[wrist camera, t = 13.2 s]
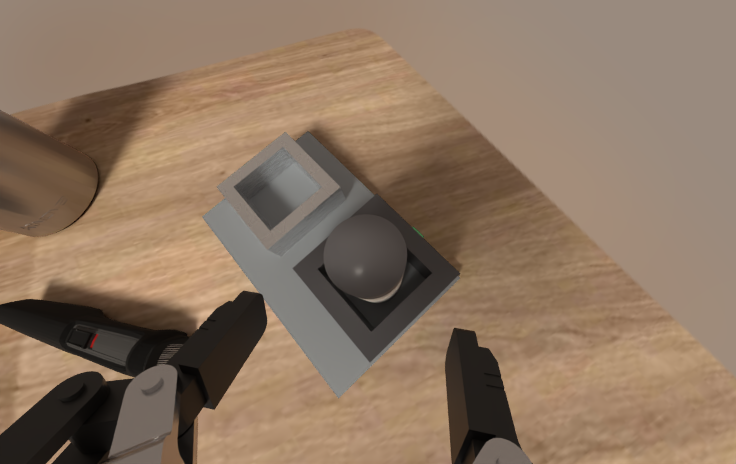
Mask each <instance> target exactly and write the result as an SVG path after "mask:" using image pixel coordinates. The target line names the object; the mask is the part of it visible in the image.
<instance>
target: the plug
mask: <svg viewBox="0 0 736 464" xmlns="http://www.w3.org/2000/svg"><path fill="white" fill-rule="evenodd" d="M406 262H407V248H406V243H405V240H404V238H403V236H402V234H401V233H400V231H399V230H398V229H397V228H396V226H395V225H393V224H392V223H391V222H390V221H388V220H386V219H384V218H382V217H379V216H376V215H370V214H363V215H356V216H353V217H350V218H348V219H346V220H344V221H343V222H341V223H340V224H339V225H337V226H336V227H335V228H334V229H333V231H332V232H331V233H330V235H329V237H328V239H327V241H326V244H325V248H324V265H325V269H326V272H327V274H328V276H329V278H330V279H331V281H332V282H333V283H334V284H335V285H336V286H337V287H338V288H339V289H341V290H342V291H344V292H345V293H347V294H350V295H353V296H355V297H358V298H360V299H363V300H366V301H368V302H371V303H384V302H387V301H389V300H390V299H392V298H393V297H394V296H395V295H396V294H397V292H398V290H399V288H400V285H401V282H402V278H403V274H404V270H405V267H406Z"/></svg>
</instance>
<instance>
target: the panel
mask: <svg viewBox="0 0 736 464" xmlns="http://www.w3.org/2000/svg"><path fill="white" fill-rule="evenodd" d="M295 142H296V143H297V144H298V145H299V146H300V147H301V148H302V149H303V150H304V151H305V152H306V153H307V154H308V155H309V156H310V157H311V158H312V159H313V160H314V161H315V162H316V163H317V164H318V165H319V166H320V167H321V168H322V169H323V170H324V171H325V172H326V173H327V174H328V175H329V176H330V177H331V178H332V179H333V180H334V181H335V182H336V183H337V184H338V185H339V186H340V187H341V190H342V192H343V194H344V197H345V199H346V201H345V202H343V203H342V204H341V205H340V206H339V207H338V208H336V209H335V210H334V211H333V212H332V213H331V214H330V215H328V216H327V217H326V218H325V219H324V220H323V221H322V222H320V223H319V224H318V225H317V226H316V227H315V228H314V229H312V230H311V231H310V232H309V233H308V234H307V235H306V236H304V237H303V238H302V239H301V240H300V241H299V242H298V243H296V244H295V245H294V246H293V247H292V248H291V249H289V250H288V251H287V252H286V253H285V254H284V255H283V256H281V257H280V256H278V255H276V254H274V253H272V252H270V251H269V250H267V249H266V248H265V246H264V245H263V244H262V243H261V241H260V240H259V239H258V238H257V237H256V235H255V234H254V233H253V232H252V230H251V229H250V228H249V227H248V225H247V224H246V223H245V222H244V220H243V219H242V218H241V217H240V215H239V214H238V213H237V212H236V211H235V209H234V208H233V207H232V206H231V204H230V203H229V202H228V201H227V199H226V198H225V199H223V200H222V201H221V202H220V203H218V204H217V205H216V206H215V207H214V208H212V209H211V210H210V211H209V212H207V213H206V214H205V215H204V216H202V217H203V219H204V220H205V221H206V223H207V224H208V225H209V227H210V228H211V229H212V231H213V232H214V233H215V235H216V236H217V237H218V239H219V240H220V241H221V243H222V244H223V245H224V247H225V248H226V249H227V251H228V252H229V253H230V255H231V256H232V257H233V259H234V260H235V261H236V263H237V264H238V265H239V267H240V268H241V269H242V271H243V272H244V273H245V275H246V276H247V277H248V279H249V280H250V281H251V283H252V284H253V285H254V287H255V288H256V289H257V291H258V292H259V293H260V294H262V295H263V298H264V300H265V301H266V303H267V304H268V305H269V306H270V308H271V309H272V310H273V312H274V313H275V314H276V316H277V317H278V318H279V320H280V321H281V322H282V324H283V325H284V326H285V328H286V329H287V330H288V332H289V333H290V334H291V336H292V337H293V338H294V340H295V341H296V342H297V344H298V345H299V346H300V348H301V349H302V350H303V352H304V353H305V354H306V356H307V357H308V358H309V360H310V361H311V362H312V364H313V365H314V366H315V368H316V369H317V370H318V372H319V373H320V374H321V376H322V377H323V378H324V380H325V381H326V382H327V384H328V385H329V386H330V388H331V389H332V390H333V392H334V393H335V394H336V396H337V397H338V398H339V397H340V396H341V395H342V394H344V393H345V392H346V391H347V390H348V389H349V388H350V387H351V386H352V385H353V384H354V383H355V382H356V381H357V380H358V379H359V378H360V377H361V376H362V375H363V374H364V373H365V372H366V371H367V370H368V369H369V368H370V367H371V366H372V365H373V364H374V363H375V362H376V361H377V360H378V359H379V358H380V357H381V356H382V355H383V354H384V353H385V352H386V351H387V350H388V349H389V348H390V347H391V346H392V345H393V344H394V343H395V342H396V341H397V340H398V339H399V338H400V337H401V336H402V335H403V334H404V333H405V332H406V331H407V330H408V329H409V328H410V327H411V326H412V325H413V324H414V323H415V322H416V321H417V320H418V319H419V318H420V317H421V316H422V315H423V314H424V313H425V312H426V311H427V310H428V309H429V308H430V307H431V306H432V305H433V304H434V303H435V302H436V301H437V300H438V299H439V298H440V297H441V296H442V295H443V294H444V293H445V292H446V291H447V290H448V289H449V288H450V287H451V286H452V285H454V284H455V283H456V282H457V281H458V280H459V279H460V277H459V276H457V277H456V278H455V279H454V280H453V281H452V282H451V283H450V284H449V285H448V286H447V287H446V288H445V289H444V290H443V291H442V292H441V293H440V294H439V295H438V296H437V297H436V298H435V299H434V300H433V301H432V302H431V303H430V304H429V305H428V306H427V307H426V308H425V309H424V310H423V311H422V312H421V313H420V314H419V315H418V316H417V317H416V318H415V319H414V320H413V321H412V322H411V323H410V324H409V325H408V326H407V327H406V328H405V329H404V330H403V331H402V332H401V333H400V334H399V335H398V336H397V337H396V338H395V339H394V340H393V341H392V342H391V343H390V344H389V345H388V346H387V347H386V348H384V349H383V350H382V351H381V352H380V353H379V354H378V355H377V356H376V357H375V358H374V359H373V360H372V361H371V362H369V361H368V360H367V359H366V357H365V356H364V355H363V354H362V352H361V351H360V350H359V349H358V348H357V346H356V345H355V344H354V343H353V342H352V340H351V339H350V338H349V337H348V335H347V334H346V333H345V332H344V331H343V329H342V328H341V327H340V326H339V324H338V323H337V322H336V321H335V320H334V318H333V317H332V316H331V315H330V314H329V312H328V311H327V310H326V309H325V307H324V306H323V305H322V304H321V303H320V301H319V300H318V299H317V298H316V297H315V295H314V294H313V293H312V292H311V290H310V289H309V288H308V287H307V286H306V284H305V283H304V282H303V281H302V279H301V278H300V277H299V276H298V275H297V273H296V272H295V271H294V270H293V269H292V268H293V267H294V266H296V265H297V264H298V263H299V262H300V261H301V260H302V259H303V258H305V257H306V256H307V255H308V254H309V253H310V252H311V251H312V250H314V249H315V248H316V247H317V246H318V245H319V244H320V243H321V242H323V241H324V240H325V239H326V238H327V237H328V236H329V235H330V233H331V232H332V231H333V229H334V228H335V227H336V226H337V225H339V224H340V223H341V222H343V221H344V220H346V219H348V218H350V217H351V216H352V215H353V214H354V213H355V212H357V211H358V210H359V209H360V208H361V207H362V206H363V205H364V204H366V203H367V202H368V201H369V200H370V199H371V198H372V197H373V196H375V195H374V194H373V193H372V192H371V191H370V190H369V189H368V188H367V187H365V186H364V185H363V184H362V183H361V182H360V181H359V180H358V179H357V178H356V177H355V176H354V175H353V174H352V173H351V172H350V171H349V170H348V169H347V168H346V167H345V166H344V165H343V164H342V163H341V162H340V161H339V160H337V159H336V158H335V157H334V156H333V155H332V154H331V153H330V152H329V151H328V150H327V149H326V148H325V147H324V146H323V145H322V144H321V143H320V142H319V141H318V140H317V139H316V138H315V137H314V136H313V135H312V134H311V133H309V132H308V131H307V132H306V133H305V134H304V135H302V136H301V137H300V138H299V139H298V140H296V141H295ZM318 190H319V189H318V188H317V187H316V186H315V185H314V183H313V182H312V181H311V180H310V179H309V178H308V177H307V176H306V175H305V174H304V173H303V172H302V171H301V170H300V169H299V168H298V167H297V166H296V165H295V164H294V163H293V164H292V165H291V166H290V167H289V168H287V169H286V170H285V171H284V172H283V173H281V174H280V175H279V176H278V177H276V178H275V179H274V180H273V181H272V182H270V183H269V184H268V185H267V186H265V187H264V188H263V189H262V190H261V191H259V192H258V193H257V194H256V195H255V196H253V197H252V198H251V199H250V201H251V202H252V203H253V204H254V206H255V207H256V208H257V209H258V210H259V212H260V213H261V214H262V215H263V216H264V217H265V219H266V220H267V221H268V222H269V223H270V225H271V226H272V227H273V228H274V227H275V226H277V225H278V224H279V223H280V222H281V221H283V220H284V219H285V218H286V217H287V216H288V215H290V214H291V213H292V212H293V211H294V210H295V209H297V208H298V207H299V206H300V205H301V204H302V203H304V202H305V201H306V200H307V199H308V198H310V197H311V196H312V195H313V194H314V193H315V192H317V191H318ZM424 280H425V278H424V277H423V276H422V275H421V274H420V273H419V272H418V271H417V270H416V269H415V268H414V267H413V266H412V265H411V264H410V263H409V262H408V261H407V262H406V267H405V270H404V274H403V278H402V282H401V285H400V288H399V290H398V292H397V294H396V295H395V296H394V297H393V298H392V299H390V300H389V301H387V302H384V303H371V302H368V301H366V300H363V299H360V298H358V297H355V296H353V295H350V294H347V293H345V292H344V291H343V292H344V294H345V295H346V296H347V297H348V298H349V299H350V300H351V302H352V303H353V304H354V305H355V306H356V307H357V309H358V310H359V311H360V312H361V313H362V314H363V316H364V317H365V318H366V319H367V320H368V321H369V322H370V324H371V325H372V326H373V327H374V328H376V327H377V326H378V325H379V324H380V323H381V322H382V321H383V320H384V319H385V318H386V317H387V316H388V315H389V314H390V313H391V312H392V311H393V310H394V309H395V308H396V307H398V306H399V305H400V304H401V303H402V302H403V301H404V300H405V299H406V298H407V297H408V296H409V295H410V294H411V293H412V292H413V291H414V290H415V289H416V288H417V287H418V286H419V285H420V284H421V283H422V282H423V281H424Z"/></svg>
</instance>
